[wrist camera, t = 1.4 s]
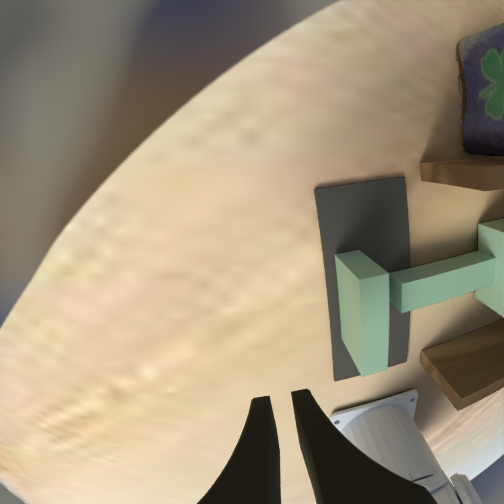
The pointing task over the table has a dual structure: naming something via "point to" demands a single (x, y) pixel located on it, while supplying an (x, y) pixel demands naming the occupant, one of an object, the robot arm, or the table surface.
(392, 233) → the mat
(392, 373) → the table surface
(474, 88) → the flask
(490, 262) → the teal block
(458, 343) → the tunnel
